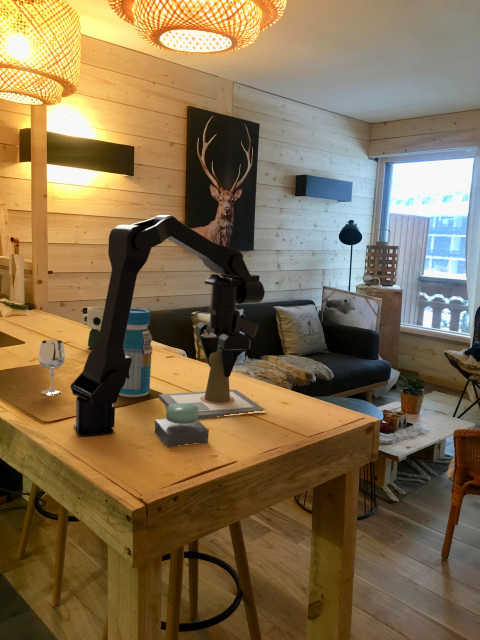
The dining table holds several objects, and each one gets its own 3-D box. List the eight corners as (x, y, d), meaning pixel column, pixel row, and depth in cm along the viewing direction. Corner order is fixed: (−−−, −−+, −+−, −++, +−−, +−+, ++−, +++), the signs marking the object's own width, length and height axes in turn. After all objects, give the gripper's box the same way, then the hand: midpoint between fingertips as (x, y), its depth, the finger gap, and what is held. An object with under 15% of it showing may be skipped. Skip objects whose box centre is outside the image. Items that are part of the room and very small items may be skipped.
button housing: (167, 447, 98) (167, 434, 98) (154, 431, 105) (155, 419, 105) (207, 443, 102) (208, 430, 101) (193, 428, 109) (194, 416, 108)
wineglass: (57, 387, 129) (58, 338, 128) (68, 393, 125) (70, 343, 124) (33, 391, 125) (34, 340, 124) (44, 397, 121) (45, 345, 120)
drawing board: (180, 420, 113) (180, 415, 113) (158, 397, 127) (158, 393, 127) (265, 413, 121) (265, 408, 121) (235, 392, 136) (236, 388, 136)
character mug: (84, 351, 169) (85, 310, 167) (77, 346, 174) (78, 306, 172) (117, 349, 175) (119, 309, 173) (109, 344, 180) (111, 306, 178)
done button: (171, 425, 99) (172, 414, 99) (162, 414, 104) (162, 404, 104) (202, 422, 102) (202, 412, 101) (191, 412, 107) (192, 402, 107)
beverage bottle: (118, 399, 124) (121, 313, 121) (110, 388, 131) (113, 307, 128) (154, 397, 128) (158, 313, 125) (144, 387, 135) (148, 307, 132)
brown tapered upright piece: (235, 399, 126) (239, 353, 124) (217, 404, 122) (220, 356, 120) (217, 393, 130) (220, 348, 128) (198, 397, 126) (201, 351, 124)
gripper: (274, 311, 118) (268, 380, 120) (238, 299, 134) (234, 361, 137) (227, 311, 113) (222, 383, 115) (196, 299, 130) (192, 362, 132)
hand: (219, 371), depth 125 cm, fingers open, 9 cm apart
